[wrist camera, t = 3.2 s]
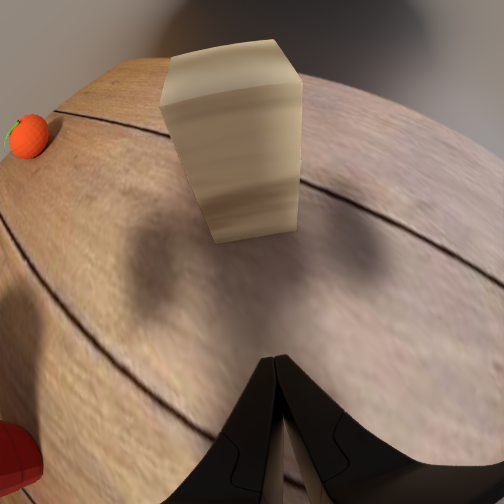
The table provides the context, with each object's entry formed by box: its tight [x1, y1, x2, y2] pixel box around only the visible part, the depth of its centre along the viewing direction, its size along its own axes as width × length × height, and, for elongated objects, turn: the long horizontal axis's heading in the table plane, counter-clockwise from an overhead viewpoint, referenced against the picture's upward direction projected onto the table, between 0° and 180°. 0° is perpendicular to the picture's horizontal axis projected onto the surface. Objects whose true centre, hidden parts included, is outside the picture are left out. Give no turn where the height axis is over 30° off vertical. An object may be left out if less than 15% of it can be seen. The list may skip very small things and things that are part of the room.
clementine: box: [5, 114, 49, 159], centre depth 28 cm, size 8×7×7 cm
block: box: [159, 40, 302, 244], centre depth 17 cm, size 6×6×12 cm
